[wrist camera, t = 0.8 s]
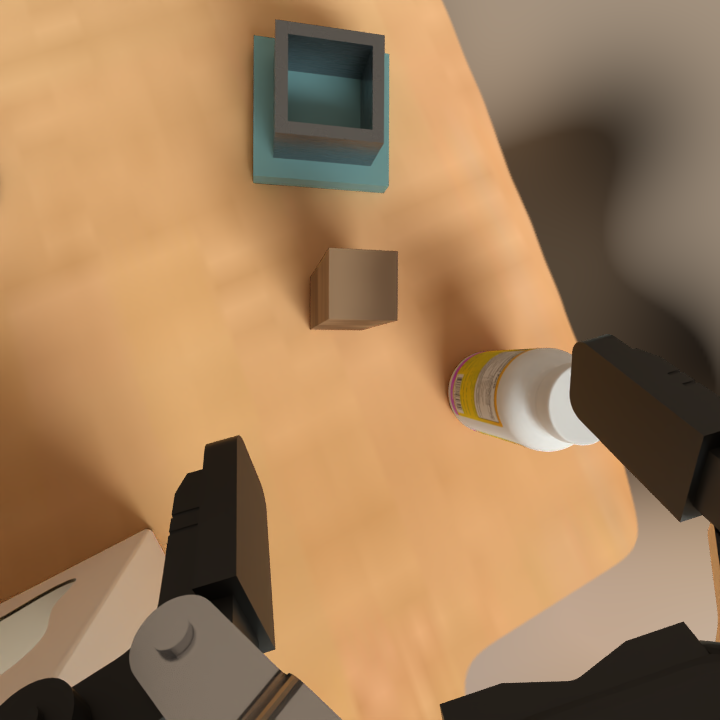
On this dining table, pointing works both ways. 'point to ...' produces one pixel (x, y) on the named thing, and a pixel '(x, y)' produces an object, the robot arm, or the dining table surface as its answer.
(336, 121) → the plate
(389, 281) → the rail post
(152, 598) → the gable box
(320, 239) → the dining table surface
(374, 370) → the dining table surface
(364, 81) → the square socket frame
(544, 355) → the supplement bottle
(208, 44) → the dining table surface
